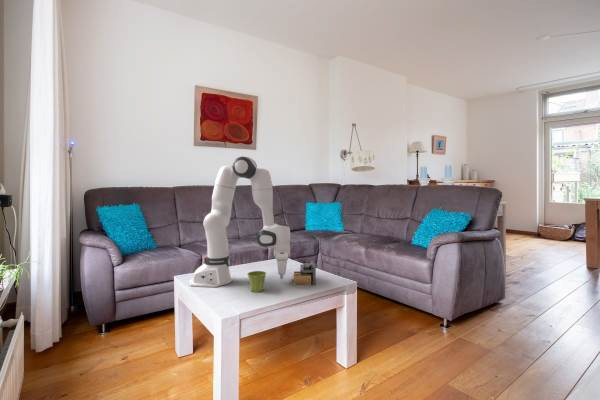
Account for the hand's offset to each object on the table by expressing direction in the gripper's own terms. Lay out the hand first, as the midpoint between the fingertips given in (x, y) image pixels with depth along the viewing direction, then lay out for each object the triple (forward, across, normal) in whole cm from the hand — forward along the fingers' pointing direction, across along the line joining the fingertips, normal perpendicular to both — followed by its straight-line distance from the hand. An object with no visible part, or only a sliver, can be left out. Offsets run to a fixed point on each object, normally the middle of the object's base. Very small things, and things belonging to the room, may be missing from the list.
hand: (281, 277), depth 175 cm
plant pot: (+3, +11, -12) cm, 17 cm away
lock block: (+3, 0, +11) cm, 12 cm away
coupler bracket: (+2, 0, +15) cm, 15 cm away
